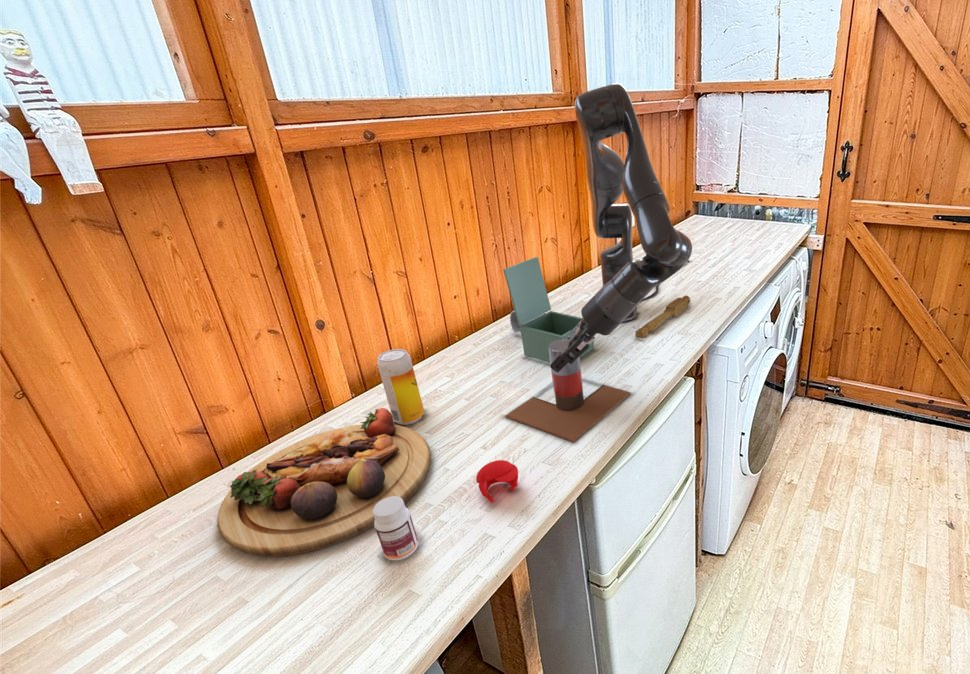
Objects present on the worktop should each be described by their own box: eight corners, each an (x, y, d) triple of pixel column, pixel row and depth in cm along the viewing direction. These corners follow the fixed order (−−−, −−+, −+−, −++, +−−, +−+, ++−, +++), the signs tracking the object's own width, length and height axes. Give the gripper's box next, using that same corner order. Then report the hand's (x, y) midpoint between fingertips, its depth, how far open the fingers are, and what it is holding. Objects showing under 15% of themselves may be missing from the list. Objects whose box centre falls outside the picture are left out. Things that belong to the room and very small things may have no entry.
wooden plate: (364, 416, 110) (353, 382, 107) (469, 460, 96) (461, 423, 92) (184, 513, 85) (162, 473, 82) (289, 593, 71) (268, 549, 67)
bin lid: (537, 256, 133) (525, 257, 135) (504, 269, 124) (492, 270, 126) (551, 309, 138) (539, 309, 140) (520, 325, 129) (508, 325, 131)
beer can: (431, 412, 111) (415, 349, 105) (410, 428, 106) (393, 363, 99) (408, 408, 113) (391, 346, 106) (387, 423, 108) (368, 359, 101)
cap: (469, 499, 86) (462, 471, 84) (490, 476, 91) (485, 449, 89) (511, 510, 84) (505, 480, 81) (530, 485, 89) (525, 457, 86)
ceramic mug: (550, 331, 148) (547, 305, 144) (526, 340, 142) (522, 314, 139) (529, 322, 154) (525, 297, 151) (505, 330, 149) (501, 305, 146)
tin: (561, 395, 115) (554, 337, 109) (587, 397, 114) (582, 339, 108) (551, 410, 109) (543, 350, 103) (579, 412, 108) (572, 352, 102)
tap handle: (634, 328, 140) (683, 293, 163) (634, 339, 141) (683, 302, 164) (643, 331, 138) (692, 294, 162) (644, 341, 140) (692, 304, 163)
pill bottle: (391, 538, 79) (377, 495, 76) (423, 535, 79) (410, 492, 76) (379, 563, 75) (363, 519, 71) (413, 560, 75) (399, 516, 72)
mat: (567, 375, 124) (566, 373, 123) (630, 394, 115) (630, 392, 115) (505, 417, 108) (505, 415, 108) (573, 442, 100) (573, 440, 99)
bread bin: (594, 350, 135) (591, 319, 132) (565, 369, 126) (562, 337, 123) (554, 340, 142) (550, 310, 138) (524, 357, 133) (519, 326, 129)
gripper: (599, 282, 107) (549, 335, 113) (591, 308, 94) (534, 366, 100) (626, 305, 109) (575, 356, 115) (621, 333, 96) (564, 390, 102)
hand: (557, 361), depth 107 cm, fingers closed on tin, 6 cm apart
